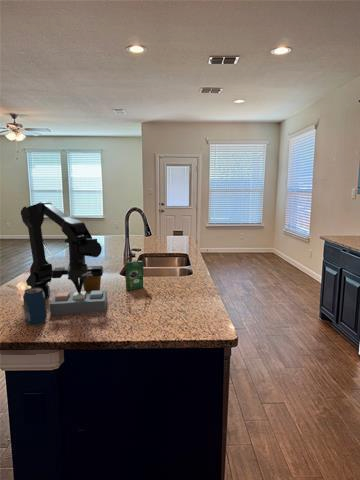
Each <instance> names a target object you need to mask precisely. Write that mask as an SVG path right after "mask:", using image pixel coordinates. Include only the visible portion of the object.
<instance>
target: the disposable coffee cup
mask: <svg viewBox="0 0 360 480" xmlns="http://www.w3.org/2000/svg"><path fill="white" fill-rule="evenodd" d="M93 266H94V265H89V266H88V265H87V267H88V269H92V267H93ZM101 280H102V276H93V275H92V274H89V276H88V278H87V279H85V280H84V282H83V286H82V288H83V290H84V291H86V292H89V291H100V290H101Z"/></svg>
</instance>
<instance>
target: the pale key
mask: <svg viewBox="0 0 360 480" xmlns="http://www.w3.org/2000/svg"><path fill="white" fill-rule="evenodd" d="M74 299H86V291H82V290H81V293H78V292H77V291H74V294H73V300H74Z"/></svg>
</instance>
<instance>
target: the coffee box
mask: <svg viewBox="0 0 360 480" xmlns="http://www.w3.org/2000/svg"><path fill="white" fill-rule="evenodd" d="M144 286H145V285H144V261H143V260H135V261H125V288H126V289H125V290H127V291H132V290H137V289H144Z"/></svg>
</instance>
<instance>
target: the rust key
mask: <svg viewBox="0 0 360 480" xmlns="http://www.w3.org/2000/svg"><path fill="white" fill-rule="evenodd" d="M69 293H70V292H69V291H67V292H62V291H61V292H56V294H57V295H56V294H55V295H56V296H55V295H54V297H55V300H56V301H57V300H68V299H69V297H70V295H69Z"/></svg>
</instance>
